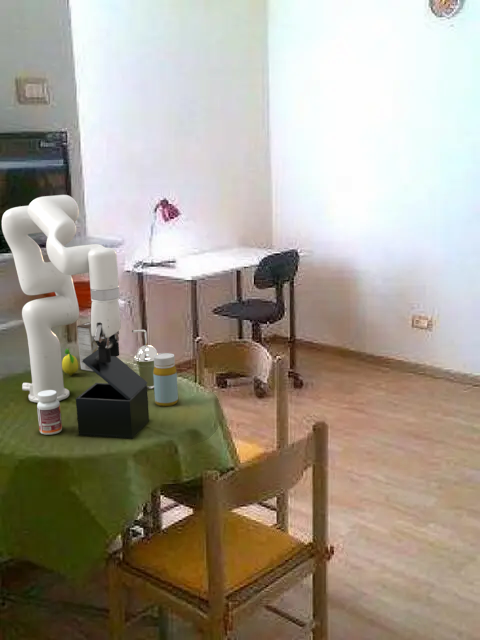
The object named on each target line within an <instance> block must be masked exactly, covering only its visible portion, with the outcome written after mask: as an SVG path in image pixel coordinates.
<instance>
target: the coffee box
mask: <svg viewBox="0 0 480 640" xmlns="http://www.w3.org/2000/svg"><path fill="white" fill-rule="evenodd" d="M76 330H77V340H78V343H77V344H78V352H79V353H78V354H79V362H80V363H79V365H80V370H82V371H86V372H93V373H95V372H94V371H93V370H92V369H91V368H89V367H88V366H87V365H86V364H85V363H83V362H82V361H83V359H85V358H86V357H88V356H89V355H90V354H92V353H93V352H95V351H96V350H98V345H97V343H96V342H95V338H94V337H92V333H91V321H88V322H85V323H82V324H78V325H76ZM101 337H105V335H102V336H101ZM102 340H103V341H104V342H105V340H106V339H102Z"/></svg>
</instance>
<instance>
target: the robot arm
mask: <svg viewBox="0 0 480 640" xmlns="http://www.w3.org/2000/svg"><path fill="white" fill-rule="evenodd" d="M79 215H80V208H79V205H78V203H77V201H76V200H75V198H74V197H72V196H70V195H68V194H57V195H46V196H45V195H44V196H39V197H36V198H34V199H33V200H32V201H31V202H29V204H28V205H22V206H21V205H19V206H15V207H11V208H9V209H7V210H5V212H4V213H3V214H2V217H1V230H2V234H3V237H4V239H5V241H6V243H7V245H8V247H9V249H10V251H11V253H12V256H13V261H14V265H15V269H16V273H17V277H18V278H17V279H18V282H19V285H20V286H19V287H20V289H21V291H22V292H23V294H25V295H27V296H39V295H44V294H50V293H54V294H55V295H54V296H47V297H41V298H37V299H33V300H29V301H28V302H26V303H24V305H23V306H22V309H21V317H22V321H23V324H24V328H25V332H26V337H27V344H28V345H27V346H28V352H29V366H30V373H31V374H30V375H31V382H23V383H22V385H21V390H22V391H24V392H29V393H28V400H29V401H30V402H31V403H37V404H38V402H40V401H38V393H39V392H41V391H45V390H54V391H56V392H57V400H58V401H59V402H60V401H64V400H65V399H67V398H69V396H70V390H69V389H68V388H65V383H64V373H63V372H64V371H63V369H62V360H63V359H62V351H61V342H60V340H59V337H58V336H57V335H56V334H55V333H54V332H53V331H52V329H54V328H59V327H63V326H68V325H71V324H72V325H73V324H74V323H76V322H77V321H78V319H79V317H80V307H79V302H78V298H77V297H78V296H77V294H76V290H75V285H74V280H73V277H72V276H76V275H81V274H82V275H83V274H87V273H89V288H90V301H91V306H90V307H91V308H90V322H91V333H92V337H94V338H95V342H96V343H97V345H98V350H99V361H100V362H106V363H110V362H111V356H116V357H119V356H120V346H119V345H120V344H119V341H120V337H119V335H120V330H121V328H122V323H121V321H122V319H121V310H120V303H119V300H120V285H119V270H118V269H119V268H118V267H119V266H118V254H117V251H116V250H115V249H114V248H113V247H105V246H104V245H102V244H99V243H91V244H83V245H75V246H69V247H66V245H67V244H69V243H70V242H71V241H72V240H73V239H74V237H75V235H76V233H77V225H76V221H77V220H78V219H79ZM42 233H43V234H44V235H45V237H46V244H45V248H46V253H47V254H46V255H47V257H48V259H49V261H45V260H44V257H43V253H42V249H41V247H40V246H39V244H38V243H37V242H36V240H35V239H33V238H32V237H31V236H30V235H33V234H42ZM102 335H105V337H101V336H102ZM102 339H106V340H105V342H104V341H103V340H102ZM109 342H113V343H114V346H113V347H112V348H109Z"/></svg>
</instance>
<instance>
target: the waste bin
mask: <svg viewBox="0 0 480 640" xmlns="http://www.w3.org/2000/svg"><path fill="white" fill-rule="evenodd" d="M148 393H149V392H148V389H147V385H145V386H144V387H143V388H142V389H141V390H140V391H139V392H138V393H137V394H135V395H134V396H133V397H132V398H131V399H130V400H128V399H126V398H125V397H124V396H123V395H122V394H120V393H119V392H118V391H117V390H116V389H114V388H113V387H112V386H111V385H110V384H108V383H107V382H95V383H94V384H92V385H91V386H90V387H89V388H87V389H86V390H85V391H83V392H82V393H81V394H79V395H78V396H77V397H76V398H75V406H76V419H77V432H78V436H80V437H92V438H93V437H94V438H95V437H96V438H111V439H125V440H126V439H129V440H133V439H134V438H135V437H136V436H137V435H138V434H139V432H141V430H142V429H143V428H145V426H146V425H147V424H148V423H149V422H150V410H149V395H148Z"/></svg>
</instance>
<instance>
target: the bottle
mask: <svg viewBox="0 0 480 640" xmlns="http://www.w3.org/2000/svg"><path fill="white" fill-rule="evenodd" d="M175 360H176V358H175V354H174V353H171V352H160V353H158V354H156V355H155V356H154V366H155V367H154V370H153V376H154V388H153V393H154V403H155V404H156V405H157V406H160V407H171V406H174V405H176V404H177V403H178V401H179V392H178V390H179V389H178V374H177V373H178V372H177V368H176V361H175Z"/></svg>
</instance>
